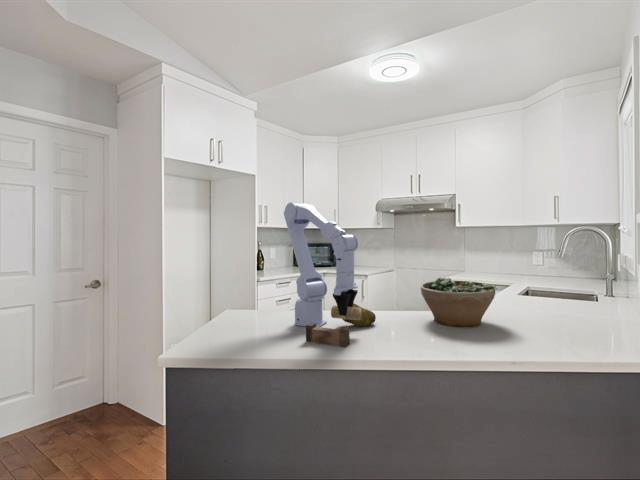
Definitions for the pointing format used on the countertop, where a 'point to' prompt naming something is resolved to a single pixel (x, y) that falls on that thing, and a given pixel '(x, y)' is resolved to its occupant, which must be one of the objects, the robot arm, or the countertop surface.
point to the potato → (363, 317)
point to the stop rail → (327, 335)
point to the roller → (352, 313)
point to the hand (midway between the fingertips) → (345, 313)
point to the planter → (458, 301)
